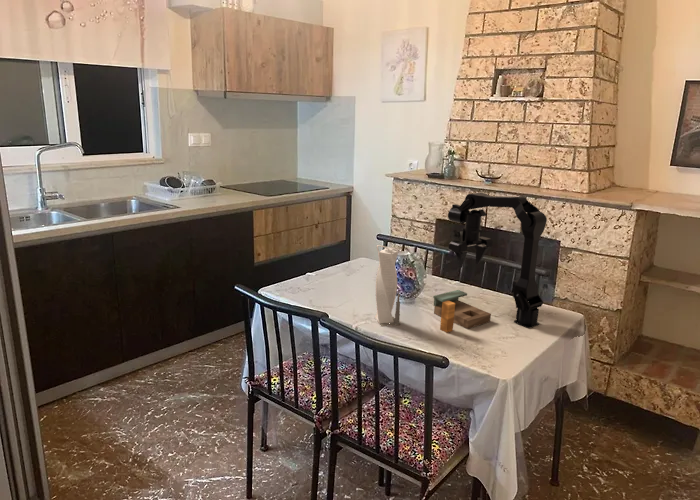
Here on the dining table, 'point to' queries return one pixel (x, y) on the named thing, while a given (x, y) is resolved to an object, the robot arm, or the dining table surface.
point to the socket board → (461, 310)
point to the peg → (447, 316)
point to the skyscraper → (387, 287)
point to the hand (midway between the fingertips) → (469, 265)
